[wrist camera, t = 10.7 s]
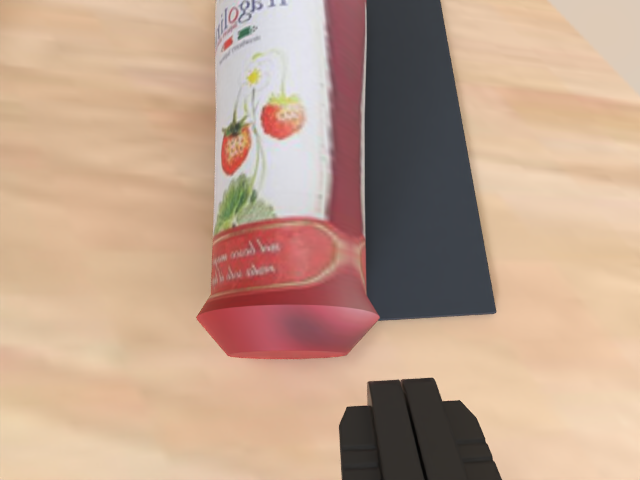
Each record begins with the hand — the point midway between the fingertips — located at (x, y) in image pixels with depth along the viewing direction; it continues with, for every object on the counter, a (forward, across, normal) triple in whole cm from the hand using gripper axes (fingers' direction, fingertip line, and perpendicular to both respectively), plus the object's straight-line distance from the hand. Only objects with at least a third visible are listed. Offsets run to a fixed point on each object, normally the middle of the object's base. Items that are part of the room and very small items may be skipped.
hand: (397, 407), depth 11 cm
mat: (+16, 0, -2) cm, 16 cm away
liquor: (+6, +3, +3) cm, 7 cm away
